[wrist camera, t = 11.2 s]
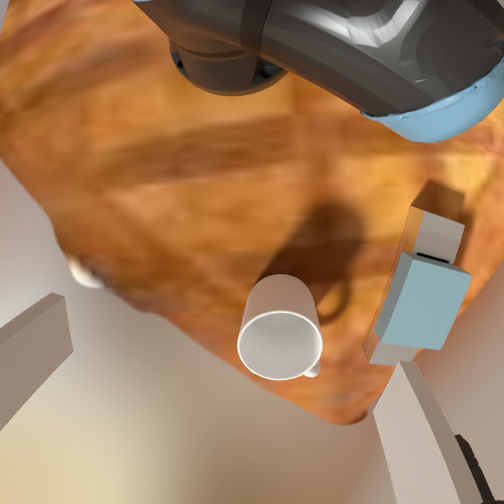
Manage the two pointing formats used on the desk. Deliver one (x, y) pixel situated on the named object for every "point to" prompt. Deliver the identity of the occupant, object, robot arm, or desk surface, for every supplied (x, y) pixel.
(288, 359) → the mug
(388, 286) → the grey block with holes
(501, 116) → the desk surface
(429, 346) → the pale blue memo pad
